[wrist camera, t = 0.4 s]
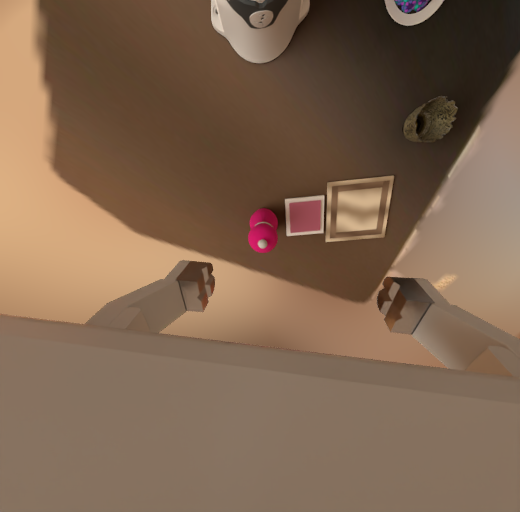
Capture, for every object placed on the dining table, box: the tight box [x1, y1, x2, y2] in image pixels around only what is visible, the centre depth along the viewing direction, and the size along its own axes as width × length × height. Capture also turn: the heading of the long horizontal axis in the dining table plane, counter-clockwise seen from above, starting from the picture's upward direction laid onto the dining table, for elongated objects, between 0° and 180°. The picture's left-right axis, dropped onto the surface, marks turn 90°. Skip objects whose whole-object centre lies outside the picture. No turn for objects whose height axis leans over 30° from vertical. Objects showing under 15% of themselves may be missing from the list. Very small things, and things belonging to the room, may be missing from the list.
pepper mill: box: [248, 208, 278, 253], centre depth 46 cm, size 7×7×20 cm
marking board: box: [326, 176, 394, 242], centre depth 53 cm, size 16×16×1 cm
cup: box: [402, 96, 458, 142], centre depth 42 cm, size 8×7×8 cm
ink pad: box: [285, 195, 324, 236], centre depth 53 cm, size 10×10×2 cm
